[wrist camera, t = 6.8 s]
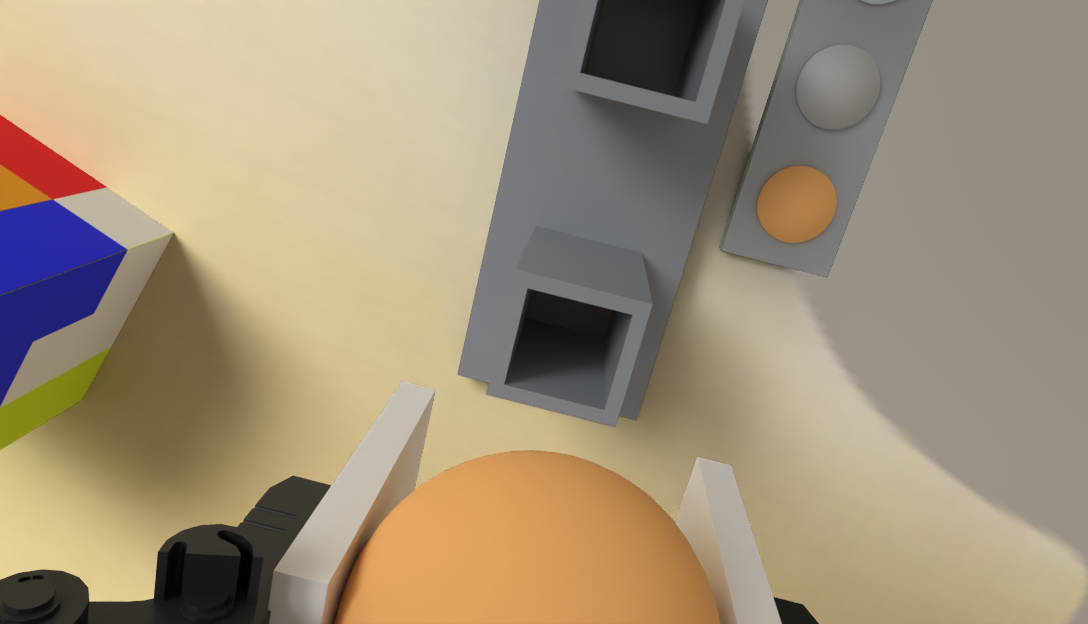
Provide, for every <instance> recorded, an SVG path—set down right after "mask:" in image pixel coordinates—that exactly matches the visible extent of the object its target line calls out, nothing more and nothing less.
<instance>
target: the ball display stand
mask: <svg viewBox="0 0 1088 624" xmlns="http://www.w3.org/2000/svg"><path fill="white" fill-rule="evenodd" d="M767 2H768V0H540V1H539V5H538V10H537V14H536V19H535V23H534V28H533V33H532V37H531V42H530V46H529V51H528V55H527V60H526V64H525V69H524V74H523V78H522V83H521V87H520V92H519V96H518V101H517V105H516V110H515V115H514V119H513V124H512V128H511V133H510V137H509V142H508V146H507V151H506V156H505V160H504V165H503V169H502V174H501V178H500V183H499V187H498V192H497V197H496V201H495V206H494V210H493V215H492V219H491V224H490V228H489V233H488V238H487V242H486V247H485V251H484V256H483V260H482V265H481V269H480V274H479V279H478V283H477V288H476V292H475V297H474V301H473V306H472V310H471V315H470V320H469V324H468V329H467V333H466V338H465V342H464V347H463V351H462V356H461V361H460V365H459V370H458V374H457V375H460V376H464V377H468V378H472V379H476V380H480V381H484V382H487V383H489V384H488V388H487V393H486V395H490V396H494V397H498V398H502V399H506V400H510V401H514V402H518V403H522V404H526V405H530V406H534V407H538V408H541V409H545V410H549V411H553V412H557V413H561V414H565V415H569V416H573V417H577V418H581V419H585V420H589V421H592V422H596V423H600V424H604V425H608V426H612V427H616V423H617V420H618V417H619V416H621V417H625V418H629V419H633V420H637V417H638V414H639V411H640V408H641V405H642V401H643V398H644V395H645V392H646V389H647V385H648V382H649V379H650V376H651V373H652V369H653V366H654V363H655V360H656V357H657V353H658V350H659V347H660V344H661V341H662V338H663V334H664V331H665V328H666V325H667V322H668V318H669V315H670V312H671V309H672V306H673V302H674V299H675V296H676V293H677V290H678V286H679V283H680V280H681V277H682V274H683V270H684V267H685V264H686V261H687V258H688V254H689V251H690V248H691V245H692V242H693V238H694V235H695V232H696V229H697V226H698V222H699V219H700V216H701V213H702V210H703V206H704V203H705V200H706V197H707V194H708V190H709V187H710V184H711V181H712V178H713V174H714V171H715V168H716V165H717V162H718V158H719V155H720V152H721V149H722V146H723V142H724V139H725V136H726V133H727V130H728V126H729V123H730V120H731V117H732V114H733V110H734V107H735V104H736V101H737V98H738V94H739V91H740V88H741V85H742V82H743V78H744V75H745V72H746V69H747V66H748V62H749V59H750V56H751V53H752V50H753V46H754V43H755V40H756V37H757V33H758V30H759V27H760V24H761V21H762V18H763V14H764V11H765V8H766V5H767Z"/></svg>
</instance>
